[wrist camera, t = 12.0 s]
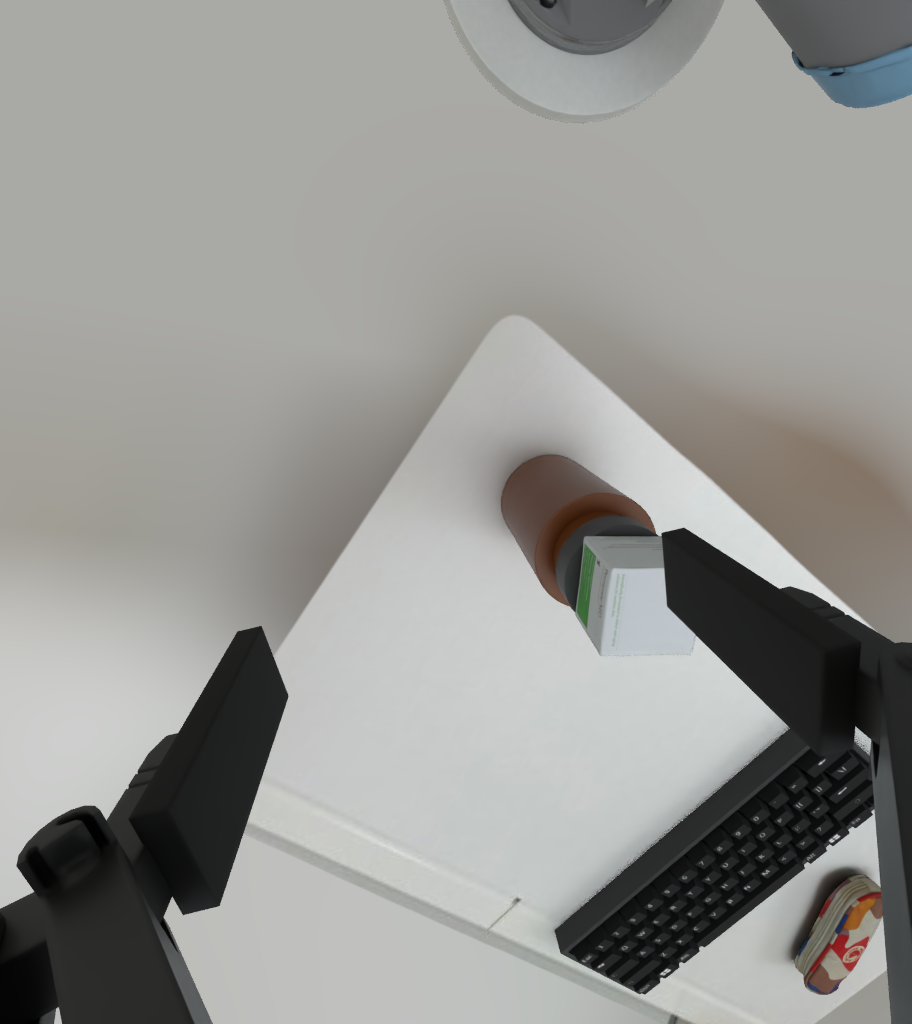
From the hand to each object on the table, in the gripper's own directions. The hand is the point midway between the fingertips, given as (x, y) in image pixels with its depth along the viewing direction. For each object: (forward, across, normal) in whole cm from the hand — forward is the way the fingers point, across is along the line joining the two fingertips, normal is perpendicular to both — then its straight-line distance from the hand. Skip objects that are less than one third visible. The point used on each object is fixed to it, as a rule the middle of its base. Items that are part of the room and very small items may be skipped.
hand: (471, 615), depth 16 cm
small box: (+14, +10, -8) cm, 19 cm away
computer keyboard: (+31, +25, -61) cm, 73 cm away
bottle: (+31, +10, -8) cm, 33 cm away
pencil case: (+31, +41, -80) cm, 95 cm away
